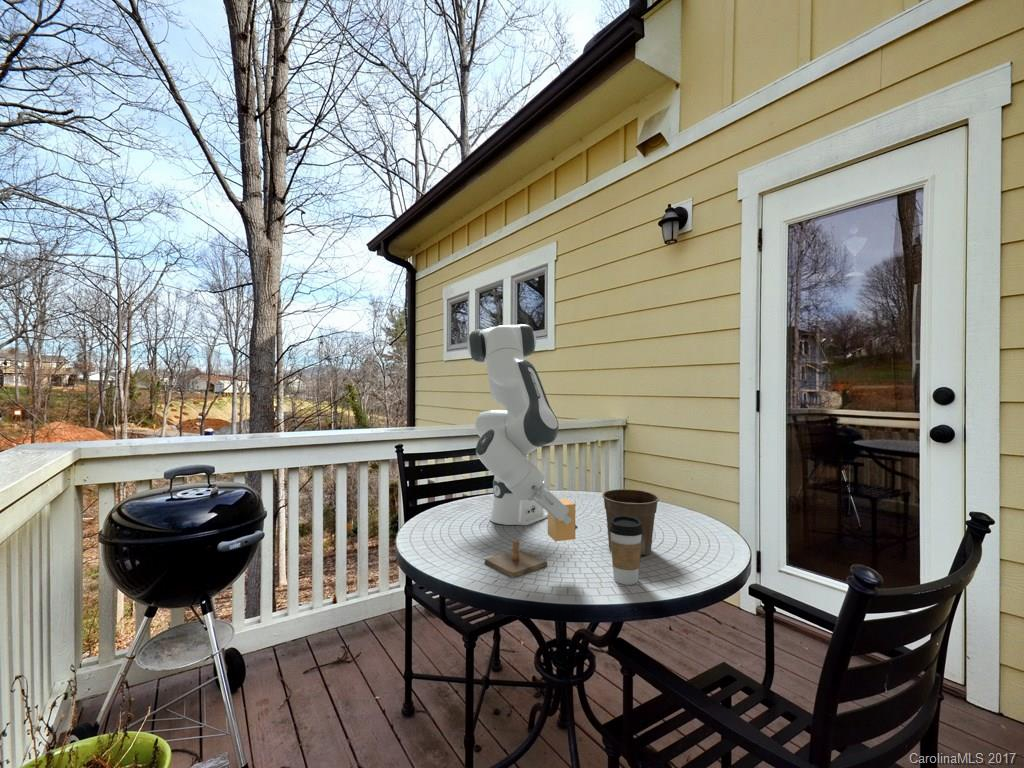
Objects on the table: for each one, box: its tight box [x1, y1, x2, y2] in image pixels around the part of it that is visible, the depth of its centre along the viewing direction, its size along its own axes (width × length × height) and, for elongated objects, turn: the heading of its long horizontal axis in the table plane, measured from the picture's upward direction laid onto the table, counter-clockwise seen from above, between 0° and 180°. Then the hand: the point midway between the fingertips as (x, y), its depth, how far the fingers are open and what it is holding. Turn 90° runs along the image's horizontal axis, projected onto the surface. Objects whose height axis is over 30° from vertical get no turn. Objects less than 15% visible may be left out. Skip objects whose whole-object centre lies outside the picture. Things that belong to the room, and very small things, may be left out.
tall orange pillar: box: [547, 498, 576, 542], centre depth 124 cm, size 6×6×9 cm
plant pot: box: [602, 488, 660, 557], centre depth 141 cm, size 16×16×16 cm
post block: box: [484, 540, 548, 578], centre depth 130 cm, size 12×12×6 cm
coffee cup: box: [609, 516, 643, 586], centre depth 120 cm, size 8×8×15 cm
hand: (563, 517), depth 124 cm, fingers closed on tall orange pillar, 5 cm apart
